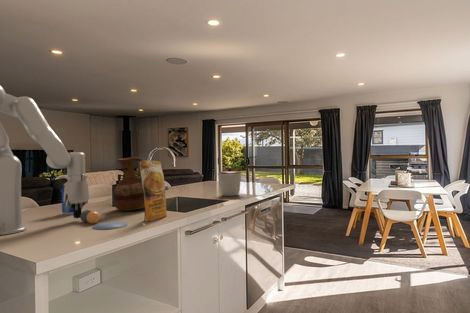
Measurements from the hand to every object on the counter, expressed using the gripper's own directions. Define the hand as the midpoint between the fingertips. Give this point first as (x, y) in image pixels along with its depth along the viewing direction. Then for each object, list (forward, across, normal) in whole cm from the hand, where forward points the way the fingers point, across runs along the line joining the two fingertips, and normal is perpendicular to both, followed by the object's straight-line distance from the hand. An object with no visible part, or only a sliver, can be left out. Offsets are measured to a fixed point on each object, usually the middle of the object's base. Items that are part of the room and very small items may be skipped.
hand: (77, 217), depth 140 cm
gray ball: (-1, 0, +6) cm, 6 cm away
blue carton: (+2, -11, -21) cm, 24 cm away
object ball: (-1, 0, +12) cm, 12 cm away
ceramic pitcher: (+2, -34, +1) cm, 34 cm away
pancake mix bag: (+2, -19, +30) cm, 35 cm away
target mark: (+2, +1, +22) cm, 23 cm away
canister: (+3, -105, +25) cm, 108 cm away
